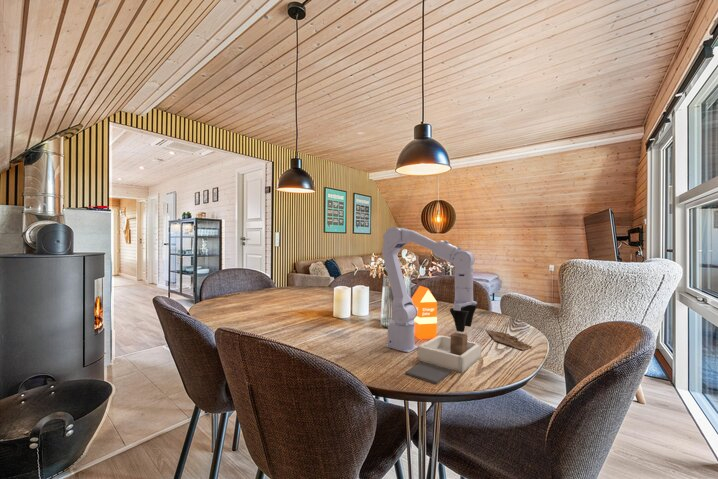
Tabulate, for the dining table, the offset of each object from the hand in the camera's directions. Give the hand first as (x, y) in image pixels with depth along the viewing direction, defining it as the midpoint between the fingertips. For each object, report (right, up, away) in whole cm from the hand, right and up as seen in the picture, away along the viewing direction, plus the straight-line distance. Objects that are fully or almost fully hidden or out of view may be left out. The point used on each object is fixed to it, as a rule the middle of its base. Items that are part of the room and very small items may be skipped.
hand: (463, 328), depth 104 cm
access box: (-4, -10, +1) cm, 11 cm away
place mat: (-14, -10, -10) cm, 20 cm away
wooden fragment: (+24, -11, +22) cm, 34 cm away
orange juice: (-8, -10, +27) cm, 30 cm away
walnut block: (-2, -8, 0) cm, 8 cm away
